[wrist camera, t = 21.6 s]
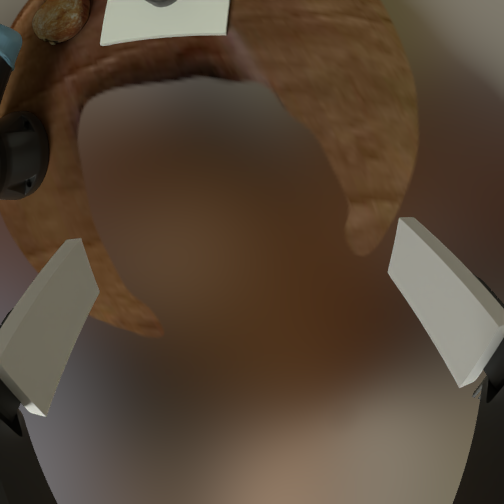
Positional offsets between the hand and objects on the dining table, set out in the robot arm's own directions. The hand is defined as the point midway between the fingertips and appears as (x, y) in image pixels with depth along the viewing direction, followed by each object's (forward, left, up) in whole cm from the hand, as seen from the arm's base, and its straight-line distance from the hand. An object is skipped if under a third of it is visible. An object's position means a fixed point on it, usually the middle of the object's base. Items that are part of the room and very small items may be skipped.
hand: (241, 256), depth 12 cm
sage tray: (-14, +25, -29) cm, 41 cm away
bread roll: (-31, +25, -29) cm, 50 cm away
